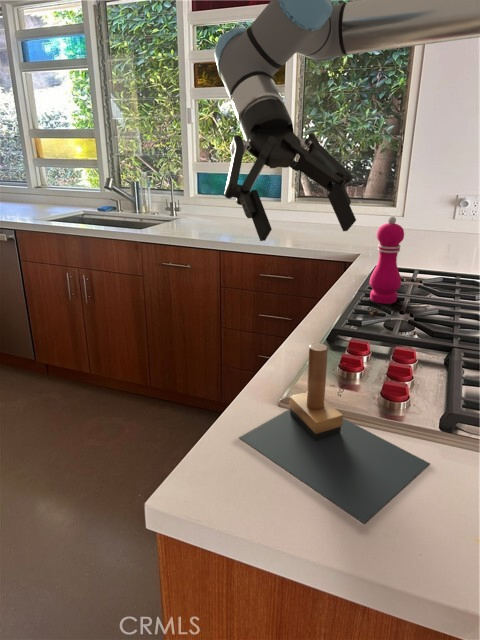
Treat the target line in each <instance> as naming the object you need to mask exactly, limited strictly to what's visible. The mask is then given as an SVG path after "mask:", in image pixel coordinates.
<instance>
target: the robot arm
mask: <svg viewBox="0 0 480 640" xmlns="http://www.w3.org/2000/svg"><path fill="white" fill-rule="evenodd" d="M476 38H477V39H478V38H480V0H351V1H347V2H343V3H335V4H333V3H332V1H331V0H270V1H269V3H268V4H267V5H266V6H265V8H264V9H263V10H262V11H261V13H259V15H258V16H257V17H256V18H255V19H254V21H253V22H252V23H251V24H250V25H249V27H247V28H246V27H242V26H239V27H233V28H231V29H230V30H229V31H227V32H226V31H225V32H224V33H223V34H222V35H221V36H220V37H219V38H218V40H217V42H216V44H215V48H214V59H215V60H214V61H215V63H216V66H217V72H218V76H219V78H220V79H221V82H222V83H223V85H224V87H225V91H226V93H227V95H228V98H229V100H230V102H231V105H232V108H233V111H234V114H235V116H236V119H237V122H238V123H239V126H240V130H241V132H242V135H243V137H244V138H243V137H242V136H241V135H239V134H235V135H234V136H233V138H232V142H231V144H230V147H229V153H230V157H231V161H230V165H229V171H228V174H227V180H226V185H225V188H224V193H223V194H224V195H223V196H224V197H225V198H226V199H228V200H229V199H232V198H235V202H236V204H237V205H240V206H241V207H242V209H243V213H244V215H245V217H246V219H251V220H252V222H253V225H254V228H255V231H256V234H257V236H258V239H259V241H260V242H264V241H266V240H267V238H268V237H269V235H270V233H271V232H272V225H271V223H270V221H269V219H268V215H267V213H266V210H265V207H264V205H263V202H262V200H261V197H260V194H259V192H258V189H252V188H253V187H254V184H255V183H256V181H257V179H258V178H259V176H260V174H261V173H262V170H263V169H264V167H265V166H266V167H269V169H277V168H283V169H284V168H285V169H286V168H287V169H288V168H291V169H292V170H294V171H295V172H298V171H299V172H300V173H302V174H303V175H305V176H307V177H308V178H309V179H311V180H312V181H313V182H315V183H316V184H318V185H319V186H320V187H322V188H324V189H325V190H327V191H328V192H329V193H328V194H327V198H328V201H329V202H330V204H331V207H332V209H333V212H334V214H335V216H336V218H337V221H338V223H339V225H340V228H341V230H342V232H348V231H349V230H350V228H351V227H352V226H353V225H354V224H355V223H356V221H357V218H356V216H355V214H354V212H353V209H352V208H351V204H352V200H351V198H350V195H349V194H348V192H347V187H348V185H349V184H350V183H351V181H353V178H354V177H353V175H352V174H351V173H350V172H349V171H348V170H347V169H346V168H345V167H344V166H343V165H342V164H341V163H340V162H339V161H338V160H337V159H336V158H334V156H333V155H332V154H330V152H329V151H328V150H326V148H325V147H324V146H322V145H321V144H320V142H319V140H318V138H317V137H316V135H315V134H314V133H311V132H310V133H308V134H307V136H306V137H305V138H303V137H302V138H300V137H298V135H297V134H296V133H295V131H294V124H293V120H292V117H291V116H290V113H289V111H288V108H287V106H286V105H285V102H284V100H283V97H282V94H281V92H280V90H279V89H278V86H277V84H276V82H275V79H274V76H275V74H276V73H278V71H279V70H280V69H281V68H283V66H284V65H286V63H287V62H288V61H289V60H290V59H291V58H292V57H294V55H295V54H297V55H300V56H303V57H306V58H309V59H311V60H312V61H315V62H330V61H332V60H335V59H336V58H338V57H343V56H348V55H355V54H363V53H371V52H378V51H386V50H393V49H402V48H410V47H416V46H424V45H432V44H433V45H434V44H439V43H440V44H441V43H447V42H448V43H449V42H455V41H462V40H463V41H464V40H470V39H476ZM246 152H248V153H249V154H250V155H252V156H253V157H254V158H256V160H255V161H254V164H253V165H252V166H251V168H250V171H249V172H248V174H247V176H246V177H245V180H244V181H243V183H242V184H239V178H240V173H241V167H242V163H243V157H244V156H245V155H246ZM297 155H299V158H298V160H297V161H296V158H297Z"/></svg>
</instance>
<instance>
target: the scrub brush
mask: <svg viewBox="0 0 480 640" xmlns="http://www.w3.org/2000/svg"><path fill="white" fill-rule="evenodd" d="M308 347H309V348H308V365H307V366H308V367H307V368H308V369H307V386H306V387H307V389H306V391H305V392H301V393H296V394H293V395H290V396H288V398H289V400H288V407H289V409H290V414H291V415H292V417H293V418H294V419H295V420H296V421H297V422H298V423H299V424H300V425H301V426H302V427H303V428H304V429H305V430H306V431H307V432H308V433H309V434H310V435H311V436H312V437H313V439H314V440H315V441H317V440H320V439H323V438H326V437H330V436H333V435H336V434H339V433H340V432H341V426H342V421H343V418H344V415H343V414H342V413H341V412H340V411H339V410H338V409H337V408H336V407H335V406H333V405H332V404H331V403H330V402H329V401H328V400H327V399H326V397H325V396H326V381H327V369H328V368H327V367H328V354H329V353H328V351H329V347H328V346H327V345H326V344H324V343H321V342H315V343H314V342H313V343H312V344H311V343H310V345H309V346H308Z"/></svg>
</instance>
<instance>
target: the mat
mask: <svg viewBox="0 0 480 640" xmlns="http://www.w3.org/2000/svg"><path fill="white" fill-rule="evenodd" d="M238 439H240V440H241V441H242V442H244V443H245V444H247V445H248V446H250V447H251V448H253V449H254V450H255V451H257V452H258V453H260V454H261V455H263V456H264V457H266V458H267V459H269V460H270V461H272V462H273V463H274V464H276V465H277V466H279V467H280V468H282V469H283V470H285V471H286V472H287V473H289V474H290V475H292V476H293V477H295V478H296V479H298V480H299V481H301V482H302V483H304V484H305V485H307V486H308V487H310V489H312V490H314V491H315V492H317V493H318V494H320V495H321V496H323V497H324V498H325V499H327V500H328V501H330V502H331V503H333V504H334V505H335V506H337V507H339V508H340V509H341V510H343V511H345V512H346V513H347V514H349V515H350V516H352V517H353V518H355V519H356V520H358V521H359V522H360V523H362V524H363V525H365V524H366V523H367V522H368V521H369V520H370V519H372V518H373V517H374V516H375V515H376V514H377V513H378V512H379V511H381V509H383V508H384V507H385V506H386V505H387V504H388V503H389V502H391V500H393V498H395V497H396V496H397V494H399V493H400V492H401V491H403V489H404V488H405V487H406V486H407V485H408V484H410V483H411V482H412V481H413V480H414V479H415V478H416V477H417V476H418V475H420V474H421V472H423V471H424V470H425V469H426V468H427V467H428V466H429V465H430V464H431V463H430V462H428V461H427V460H424V459H423V458H420V457H419V456H417V455H415V454H413V453H411V452H409V451H407V450H405V449H403V448H402V447H400V446H397V445H396V444H393V443H392V442H390V441H388V440H386V439H384V438H382V437H380V436H379V435H376V434H375V433H372V432H371V431H368V430H366V429H365V428H362V427H361V426H359V425H357V424H355V423H353V422H351V421H349V420H348V419H346V418H344V417H343V421H342V426H341V432H340V433H339V434H336V435H333V436H330V437H326V438H323V439H320V440H317V441H315V440H314V439H313V437H312V436H311V435H310V434H309V433H308V432H307V431H306V430H305V429H304V428H303V427H302V426H301V425H300V424H299V423H298V422H297V421H296V420H295V419H294V418H293V417H292V415H291V414H290V408H289V409H287V410H285V411H283V412H281V413H279V414H278V415H276V416H275V417H273V418H271V419H269V420H267V421H266V422H263V423H262V424H260V425H259V426H256V427H255V428H253V429H252V430H250V431H248V432H246V433H244V434H242V435H241V436H239V437H238Z"/></svg>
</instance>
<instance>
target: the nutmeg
mask: <svg viewBox="0 0 480 640" xmlns="http://www.w3.org/2000/svg"><path fill="white" fill-rule="evenodd" d="M381 308H382V309H384V307H383V306H382V307H381ZM371 310H372V311H373V312H369V311H371ZM376 310H377V311H376ZM369 311H368V312H369V315H370V316H372V315H374V314H378V313H379V310H378V309H377V308H376V309H374V310H373V309H372V308H369Z"/></svg>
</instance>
